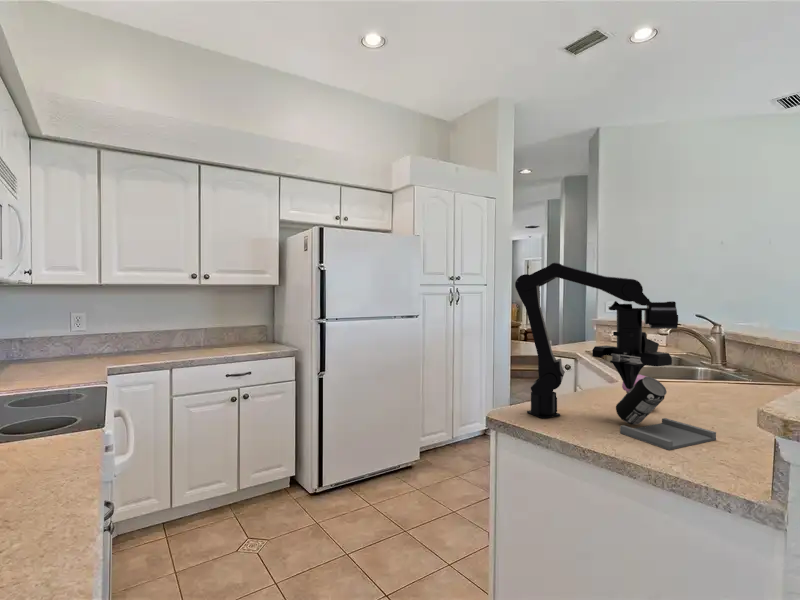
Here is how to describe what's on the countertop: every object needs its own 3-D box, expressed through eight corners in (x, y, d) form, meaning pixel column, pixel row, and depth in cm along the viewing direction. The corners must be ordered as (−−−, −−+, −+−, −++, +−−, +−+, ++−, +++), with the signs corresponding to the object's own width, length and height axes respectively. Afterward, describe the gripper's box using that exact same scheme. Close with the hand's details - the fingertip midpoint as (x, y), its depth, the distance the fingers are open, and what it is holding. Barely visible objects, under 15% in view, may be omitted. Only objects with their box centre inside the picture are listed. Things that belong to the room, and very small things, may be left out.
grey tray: (669, 450, 90) (669, 441, 90) (620, 433, 101) (620, 425, 101) (716, 439, 96) (716, 432, 96) (665, 425, 107) (665, 417, 107)
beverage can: (621, 401, 112) (647, 371, 105) (643, 419, 108) (672, 390, 101) (609, 410, 108) (636, 380, 101) (632, 430, 104) (662, 400, 97)
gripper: (686, 329, 102) (687, 393, 102) (619, 324, 119) (619, 379, 119) (655, 331, 97) (656, 398, 98) (590, 326, 115) (590, 383, 115)
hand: (629, 388), depth 107 cm, fingers closed
